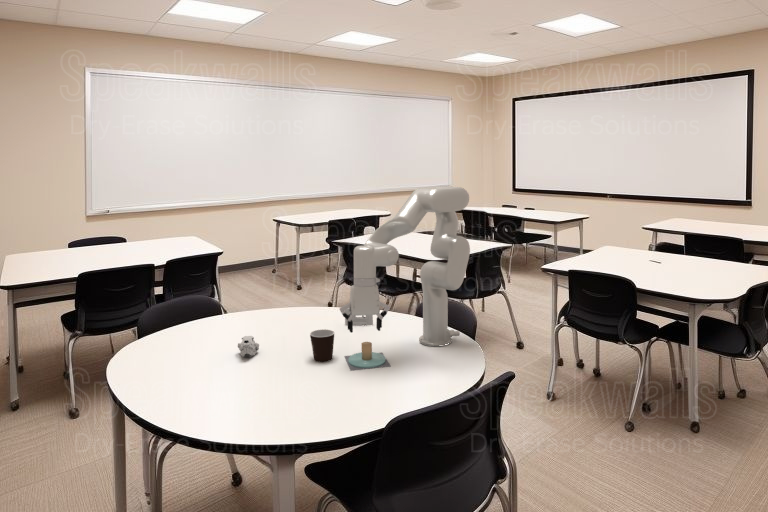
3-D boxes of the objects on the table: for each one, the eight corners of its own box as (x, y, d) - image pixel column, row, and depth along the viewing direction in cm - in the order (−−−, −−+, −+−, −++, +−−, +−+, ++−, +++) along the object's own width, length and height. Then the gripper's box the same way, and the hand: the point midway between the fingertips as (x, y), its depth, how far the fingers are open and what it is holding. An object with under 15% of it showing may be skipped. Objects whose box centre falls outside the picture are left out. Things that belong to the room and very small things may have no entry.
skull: (261, 341, 200) (258, 327, 190) (258, 363, 195) (256, 350, 185) (240, 341, 199) (236, 327, 189) (237, 363, 194) (233, 350, 184)
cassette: (345, 326, 226) (344, 308, 225) (345, 324, 228) (345, 307, 227) (372, 326, 226) (372, 308, 224) (373, 324, 228) (372, 307, 226)
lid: (381, 353, 191) (380, 336, 190) (389, 366, 179) (389, 348, 178) (345, 356, 188) (345, 339, 187) (351, 369, 176) (351, 351, 175)
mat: (382, 354, 192) (382, 352, 192) (391, 368, 178) (391, 366, 178) (344, 357, 189) (344, 356, 189) (350, 372, 175) (350, 370, 175)
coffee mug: (331, 365, 182) (330, 337, 180) (307, 363, 184) (306, 336, 182) (340, 353, 193) (339, 327, 191) (318, 352, 195) (317, 326, 193)
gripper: (387, 279, 184) (386, 326, 187) (338, 280, 180) (338, 329, 183) (392, 283, 177) (391, 332, 179) (341, 285, 173) (341, 335, 176)
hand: (364, 330), depth 181 cm, fingers open, 9 cm apart
